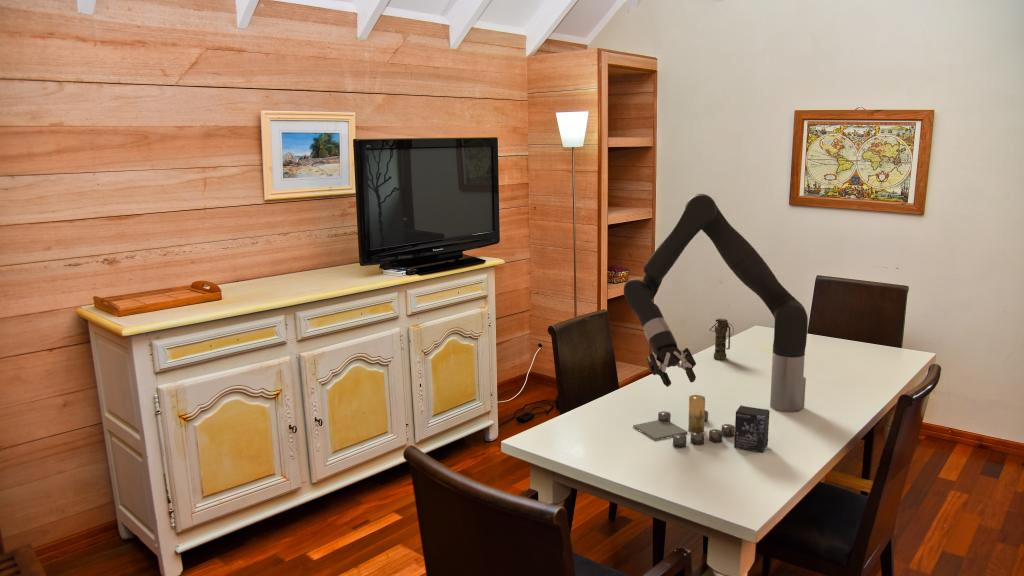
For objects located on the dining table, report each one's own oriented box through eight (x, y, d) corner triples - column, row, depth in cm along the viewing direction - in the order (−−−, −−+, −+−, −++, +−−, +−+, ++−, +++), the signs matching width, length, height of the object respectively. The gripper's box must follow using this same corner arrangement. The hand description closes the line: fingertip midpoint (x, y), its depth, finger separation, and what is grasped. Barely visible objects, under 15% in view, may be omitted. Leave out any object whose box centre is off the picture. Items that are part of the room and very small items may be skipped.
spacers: (694, 412, 237) (694, 404, 236) (742, 437, 217) (742, 429, 217) (637, 424, 229) (637, 416, 228) (681, 451, 209) (681, 442, 209)
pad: (664, 420, 231) (664, 418, 231) (687, 433, 221) (687, 431, 221) (633, 427, 227) (633, 425, 226) (654, 440, 217) (654, 438, 217)
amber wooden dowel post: (697, 426, 226) (698, 394, 224) (707, 432, 222) (708, 398, 220) (685, 429, 224) (686, 396, 222) (694, 434, 220) (695, 401, 218)
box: (733, 448, 210) (735, 411, 208) (738, 440, 215) (740, 404, 213) (763, 453, 207) (765, 416, 204) (768, 446, 211) (769, 409, 209)
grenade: (707, 359, 290) (708, 320, 287) (714, 355, 295) (715, 317, 292) (729, 363, 285) (730, 323, 282) (736, 359, 289) (737, 320, 286)
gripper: (644, 332, 229) (666, 380, 221) (684, 326, 235) (707, 373, 227) (634, 345, 235) (655, 393, 227) (673, 339, 241) (695, 385, 233)
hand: (681, 383), depth 227 cm, fingers open, 8 cm apart
